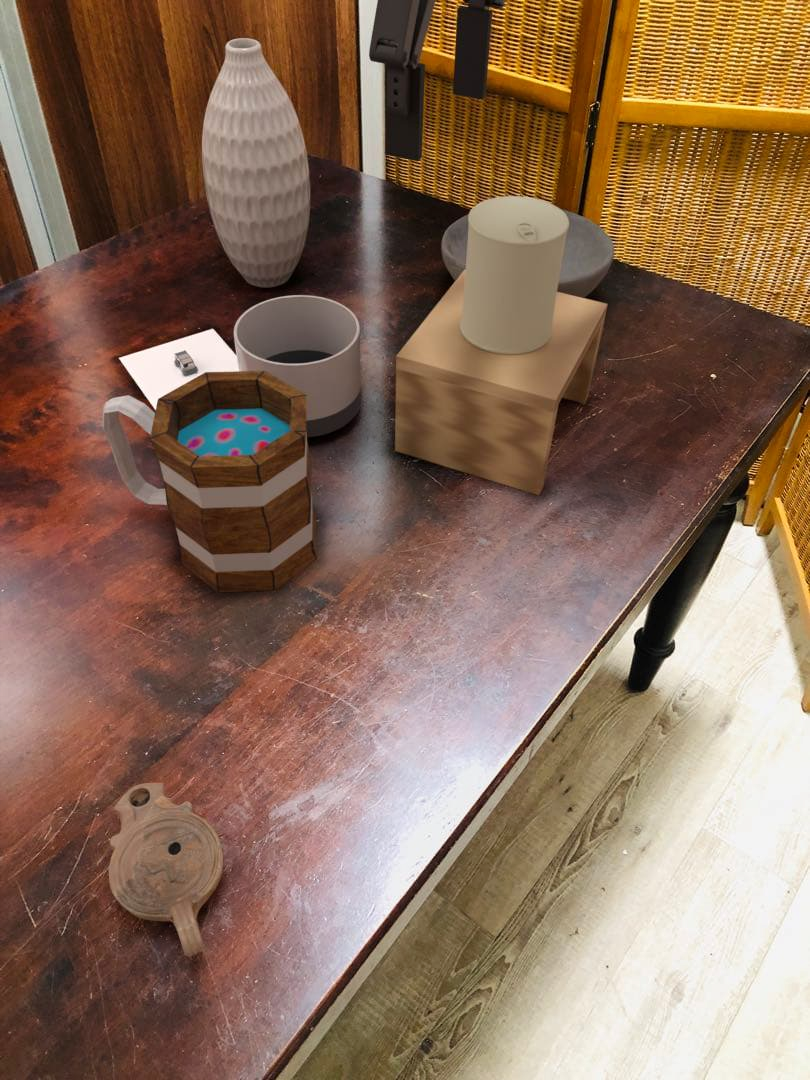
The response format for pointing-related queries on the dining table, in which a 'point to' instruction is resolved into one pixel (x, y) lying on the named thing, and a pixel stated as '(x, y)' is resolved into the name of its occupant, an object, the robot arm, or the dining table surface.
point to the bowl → (580, 263)
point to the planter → (306, 354)
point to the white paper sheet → (179, 363)
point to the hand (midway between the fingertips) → (438, 124)
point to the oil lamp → (164, 861)
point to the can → (512, 273)
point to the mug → (228, 475)
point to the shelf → (492, 392)
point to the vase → (255, 168)
